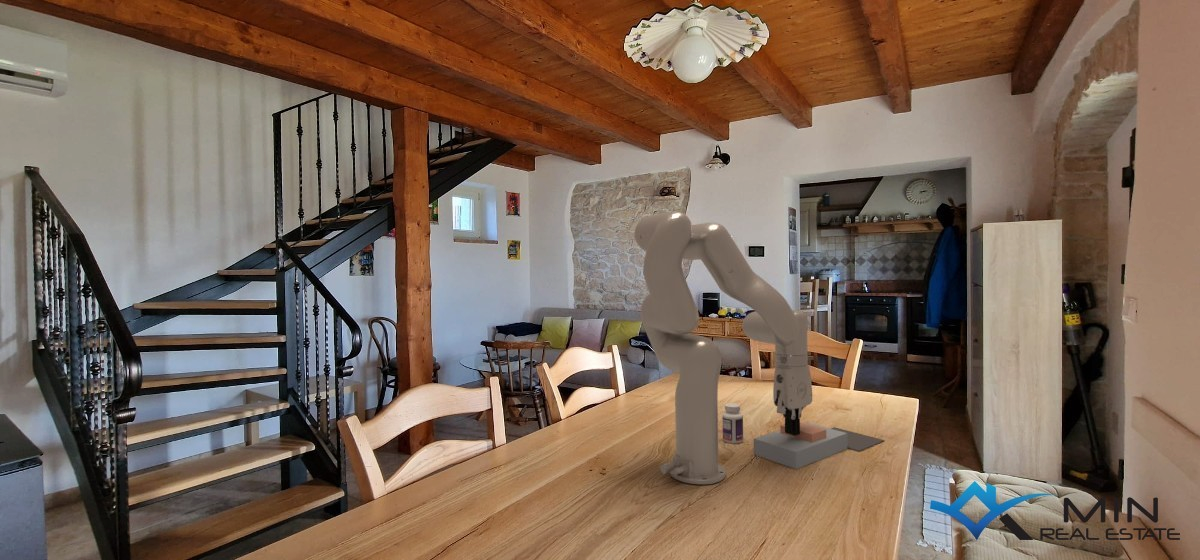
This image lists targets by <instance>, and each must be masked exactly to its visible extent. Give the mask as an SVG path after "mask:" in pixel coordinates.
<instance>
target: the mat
mask: <svg viewBox="0 0 1200 560" xmlns="http://www.w3.org/2000/svg"><path fill="white" fill-rule="evenodd" d="M830 429H833V430H837V431H841V432H845V433H847V449H846V450H852V451H855V452H858V453H860V452H862V451H864V450H867V449H870V448H872V447H874V446H876V445H879V444H883V443H884V442H885V440H886V439H881V438H878V437H874V436H870V435H867V434H863V433H858V432H855V431H850V430H847V429H842V428H839V427H835V426H834V427H832V428H830Z"/></svg>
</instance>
